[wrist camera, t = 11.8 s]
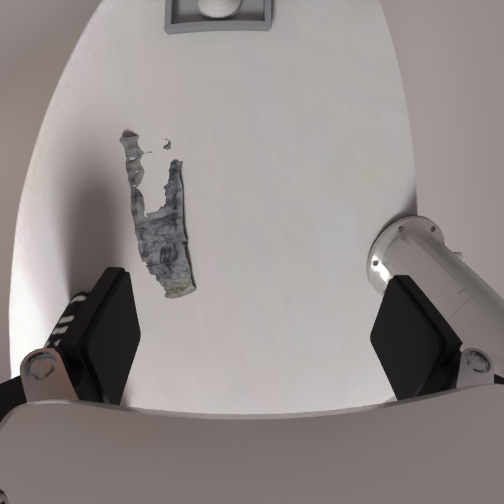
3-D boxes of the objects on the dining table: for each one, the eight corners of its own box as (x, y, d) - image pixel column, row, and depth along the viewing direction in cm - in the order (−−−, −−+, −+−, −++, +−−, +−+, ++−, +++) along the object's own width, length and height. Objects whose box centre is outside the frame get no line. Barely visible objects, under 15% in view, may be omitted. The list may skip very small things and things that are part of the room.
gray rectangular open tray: (268, -21, 22) (271, -28, 20) (268, 31, 25) (271, 26, 23) (170, -18, 21) (167, -24, 19) (168, 34, 24) (164, 30, 22)
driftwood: (197, 294, 39) (196, 304, 37) (148, 295, 39) (144, 305, 37) (184, 130, 30) (181, 131, 28) (124, 136, 30) (118, 138, 28)
